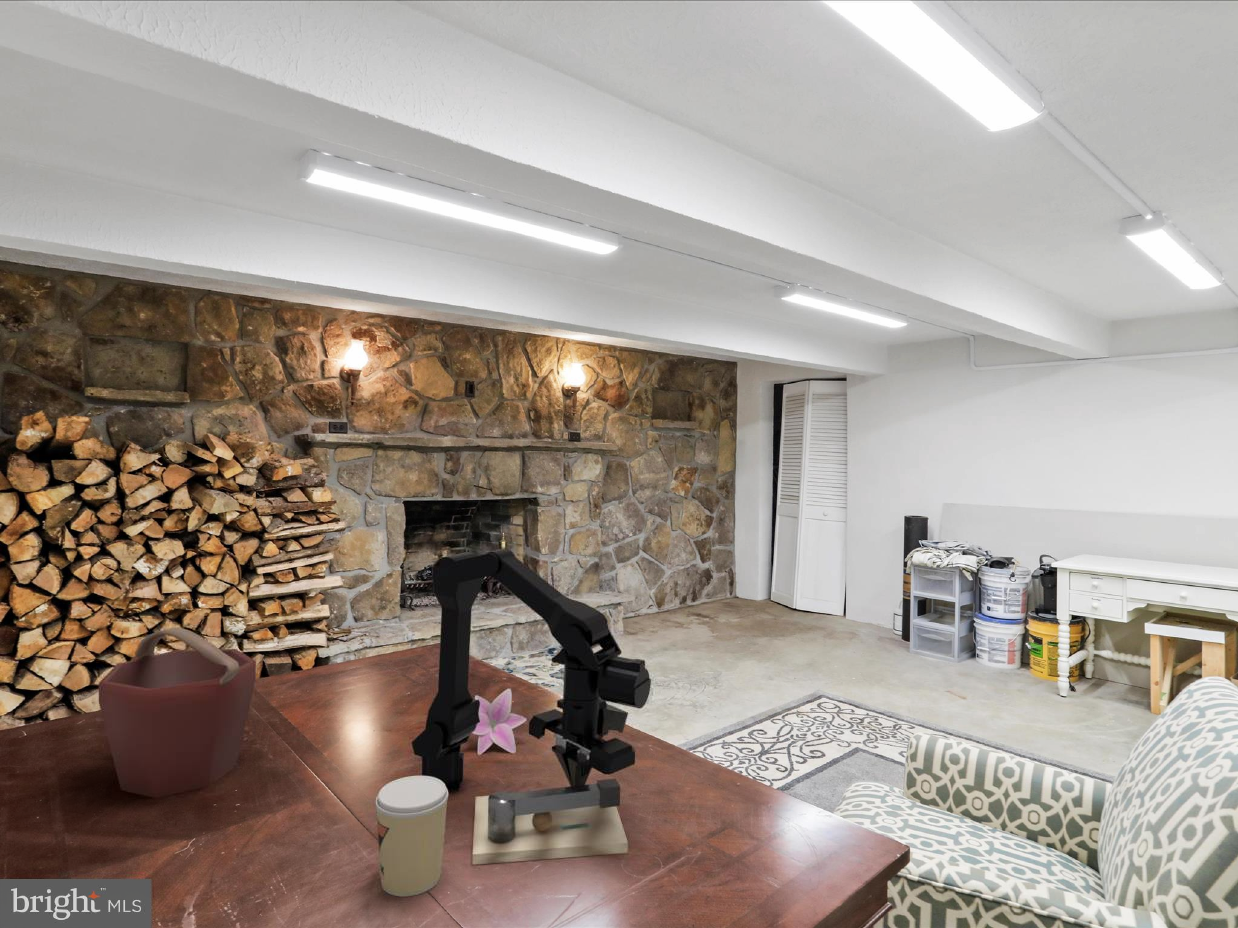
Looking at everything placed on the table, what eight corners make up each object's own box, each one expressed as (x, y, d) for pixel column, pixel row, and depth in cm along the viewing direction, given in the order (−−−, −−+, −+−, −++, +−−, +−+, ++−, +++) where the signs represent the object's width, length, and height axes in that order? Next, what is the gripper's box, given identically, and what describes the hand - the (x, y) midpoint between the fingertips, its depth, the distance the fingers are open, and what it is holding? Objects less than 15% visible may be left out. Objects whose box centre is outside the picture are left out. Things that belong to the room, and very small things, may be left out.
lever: (489, 844, 101) (489, 804, 101) (486, 829, 105) (487, 790, 105) (620, 826, 106) (621, 788, 106) (613, 812, 110) (614, 776, 110)
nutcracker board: (472, 864, 99) (473, 832, 99) (475, 805, 115) (476, 778, 114) (627, 852, 103) (628, 822, 102) (610, 797, 118) (610, 770, 118)
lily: (447, 754, 135) (454, 720, 131) (474, 709, 146) (481, 677, 141) (505, 778, 134) (514, 745, 129) (528, 732, 144) (537, 699, 140)
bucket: (271, 777, 122) (272, 633, 121) (117, 826, 106) (118, 661, 105) (222, 734, 139) (222, 608, 138) (82, 771, 123) (82, 628, 122)
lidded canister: (384, 858, 100) (385, 774, 99) (451, 856, 101) (453, 773, 100) (366, 901, 90) (367, 809, 90) (440, 899, 91) (442, 808, 91)
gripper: (662, 699, 108) (658, 800, 108) (580, 667, 121) (577, 757, 122) (609, 718, 100) (605, 826, 100) (528, 681, 113) (524, 777, 114)
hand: (577, 793), depth 109 cm, fingers closed
